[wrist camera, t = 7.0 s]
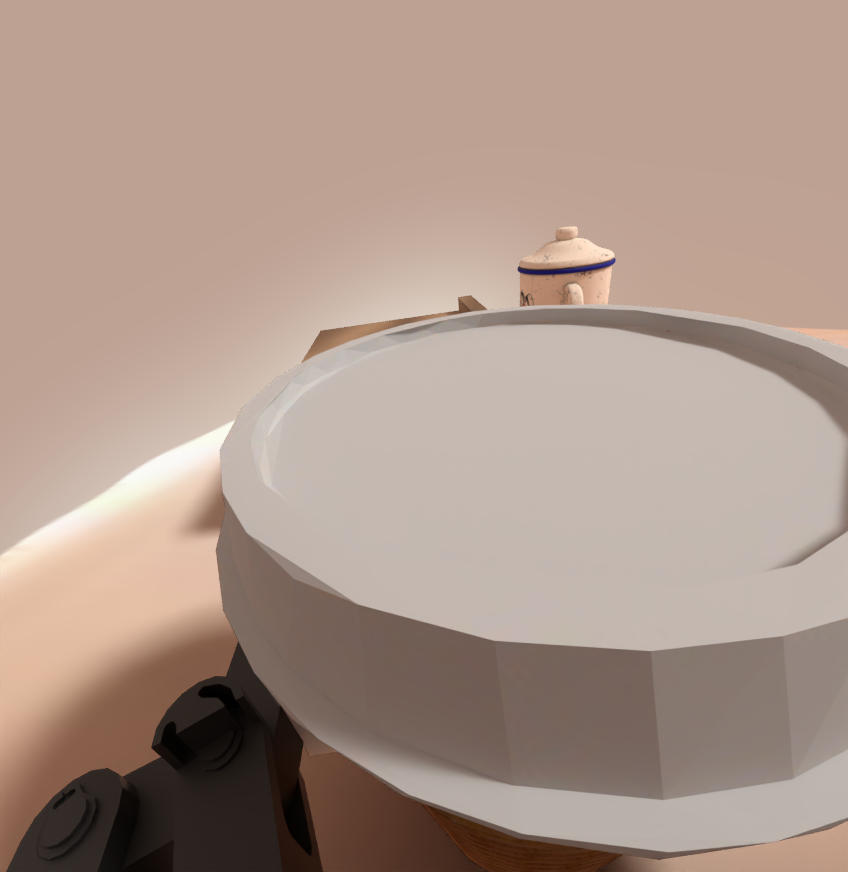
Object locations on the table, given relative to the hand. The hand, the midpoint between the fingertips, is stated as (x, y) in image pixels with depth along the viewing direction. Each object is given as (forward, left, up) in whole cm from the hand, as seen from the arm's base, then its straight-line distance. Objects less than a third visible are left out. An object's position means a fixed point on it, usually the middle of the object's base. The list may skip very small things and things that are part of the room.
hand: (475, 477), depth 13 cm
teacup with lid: (-15, -28, -7) cm, 33 cm away
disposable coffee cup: (0, +5, -7) cm, 8 cm away
